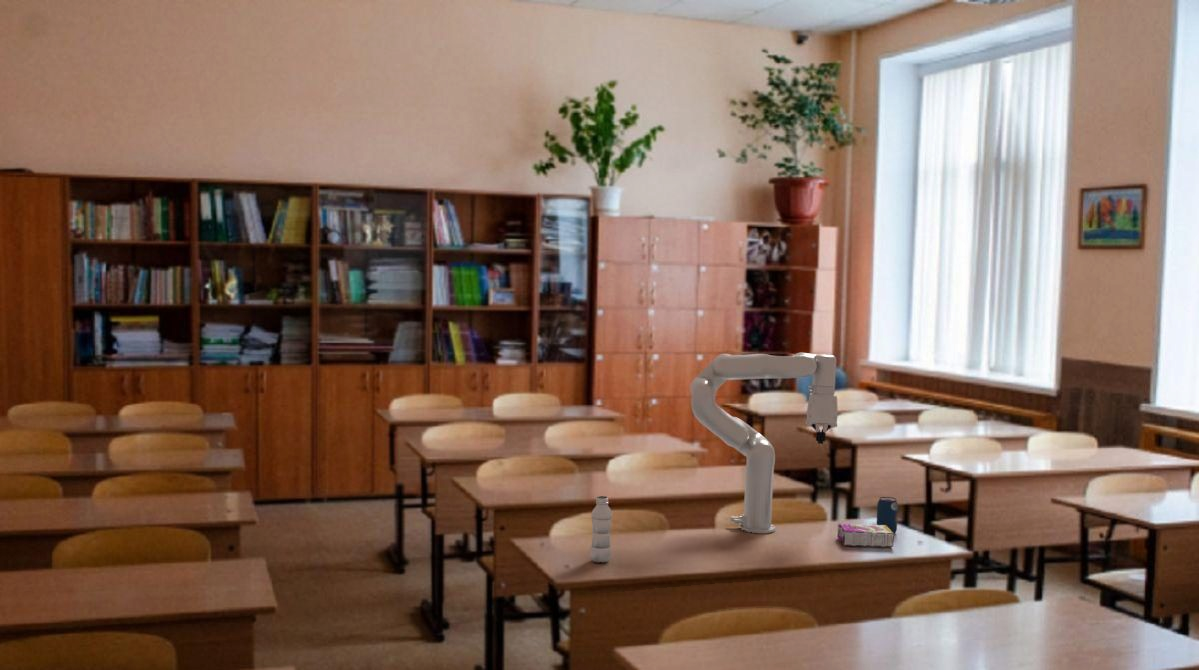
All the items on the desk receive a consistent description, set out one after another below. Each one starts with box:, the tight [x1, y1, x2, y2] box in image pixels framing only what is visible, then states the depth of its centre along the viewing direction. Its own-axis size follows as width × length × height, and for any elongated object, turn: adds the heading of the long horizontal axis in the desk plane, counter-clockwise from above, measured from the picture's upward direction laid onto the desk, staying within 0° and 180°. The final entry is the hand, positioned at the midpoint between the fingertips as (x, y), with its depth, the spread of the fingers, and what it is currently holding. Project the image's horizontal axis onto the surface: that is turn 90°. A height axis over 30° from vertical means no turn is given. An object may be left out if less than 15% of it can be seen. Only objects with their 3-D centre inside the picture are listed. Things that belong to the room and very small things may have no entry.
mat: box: [844, 545, 892, 549], centre depth 359 cm, size 15×12×1 cm
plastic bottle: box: [589, 495, 613, 563], centre depth 326 cm, size 6×7×20 cm
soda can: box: [875, 496, 899, 535], centre depth 371 cm, size 7×7×12 cm
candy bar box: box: [837, 523, 895, 548], centre depth 357 cm, size 11×5×16 cm
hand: (820, 443), depth 369 cm, fingers closed
